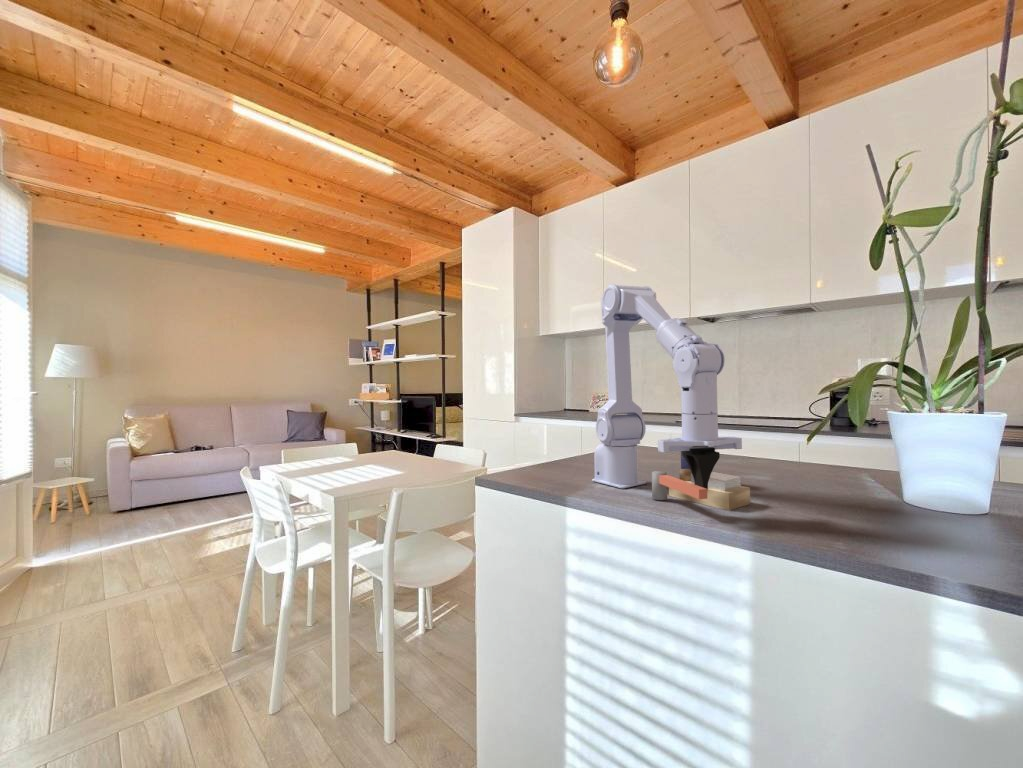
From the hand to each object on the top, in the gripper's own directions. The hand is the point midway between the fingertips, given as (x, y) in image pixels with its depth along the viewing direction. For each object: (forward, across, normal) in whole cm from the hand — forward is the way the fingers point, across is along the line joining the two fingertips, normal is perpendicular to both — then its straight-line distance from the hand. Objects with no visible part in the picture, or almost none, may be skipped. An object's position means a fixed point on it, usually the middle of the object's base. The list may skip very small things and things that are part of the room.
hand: (701, 492), depth 75 cm
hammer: (+4, -2, +5) cm, 6 cm away
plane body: (+4, +6, +8) cm, 11 cm away
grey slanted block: (+1, +7, +7) cm, 10 cm away
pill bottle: (+4, +12, +21) cm, 24 cm away
